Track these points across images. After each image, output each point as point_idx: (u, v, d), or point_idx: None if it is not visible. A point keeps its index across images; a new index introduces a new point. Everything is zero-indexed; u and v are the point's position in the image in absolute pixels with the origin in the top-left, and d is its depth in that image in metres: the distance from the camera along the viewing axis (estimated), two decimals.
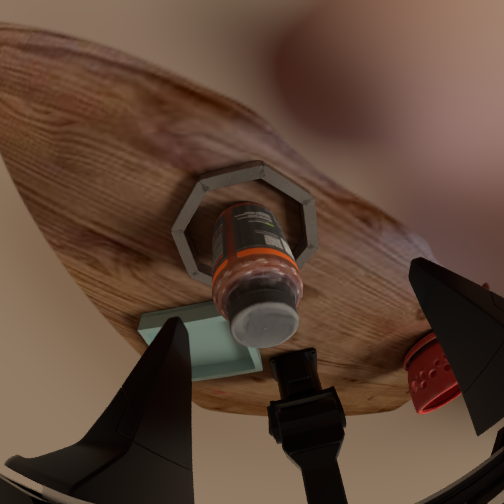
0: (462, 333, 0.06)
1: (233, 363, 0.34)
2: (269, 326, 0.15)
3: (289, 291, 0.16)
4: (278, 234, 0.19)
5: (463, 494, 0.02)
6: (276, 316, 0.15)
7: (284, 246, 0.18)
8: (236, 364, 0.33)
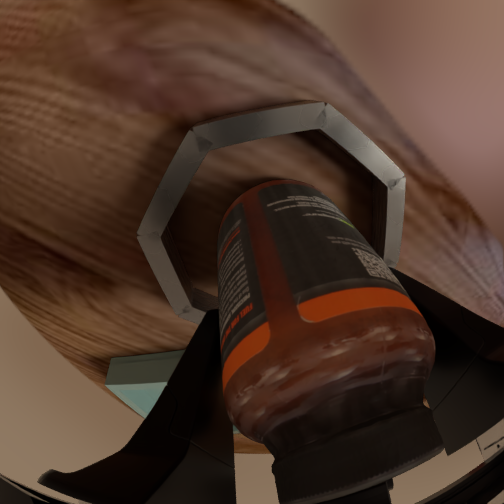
0: None
1: None
2: None
3: (423, 392, 0.05)
4: (369, 245, 0.08)
5: (463, 494, 0.02)
6: None
7: (393, 275, 0.07)
8: None
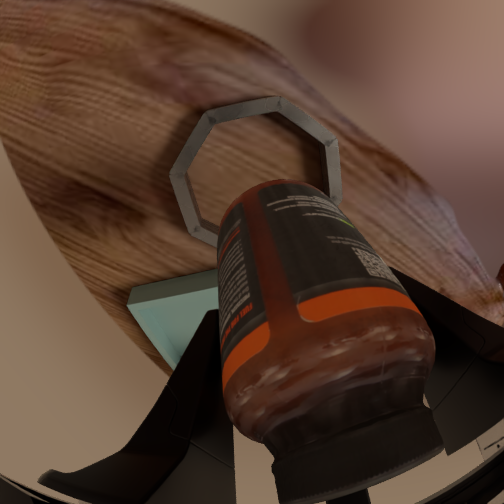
0: None
1: None
2: None
3: (423, 392, 0.05)
4: (369, 245, 0.08)
5: (463, 494, 0.02)
6: None
7: (393, 275, 0.07)
8: None
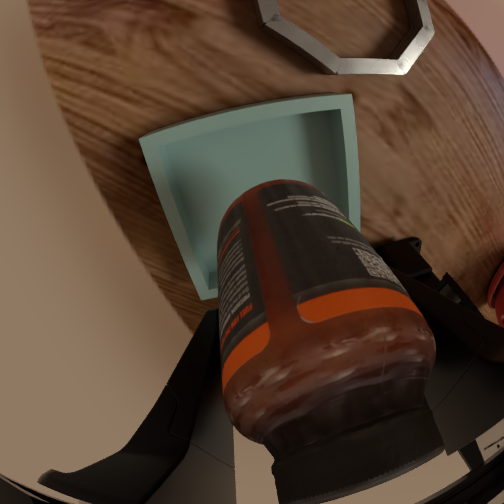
0: None
1: None
2: None
3: None
4: (370, 245, 0.08)
5: (463, 494, 0.02)
6: None
7: (394, 275, 0.07)
8: None
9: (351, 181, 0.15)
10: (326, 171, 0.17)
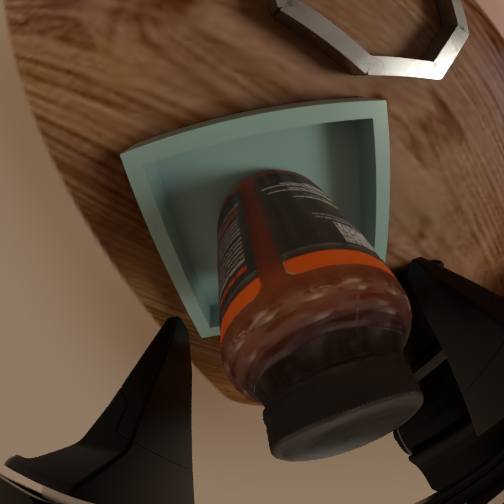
0: (462, 333, 0.06)
1: None
2: (363, 434, 0.05)
3: (401, 348, 0.06)
4: (351, 223, 0.09)
5: (463, 494, 0.02)
6: (387, 418, 0.05)
7: (371, 247, 0.08)
8: None
9: (380, 206, 0.12)
10: (349, 191, 0.14)
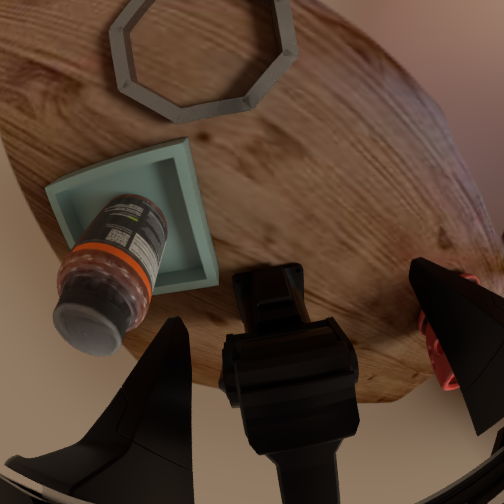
0: (462, 333, 0.06)
1: (175, 274, 0.23)
2: (88, 332, 0.11)
3: (116, 295, 0.12)
4: (135, 229, 0.15)
5: (463, 494, 0.02)
6: (88, 321, 0.11)
7: (132, 243, 0.14)
8: (179, 274, 0.23)
9: (192, 217, 0.19)
10: (183, 206, 0.20)
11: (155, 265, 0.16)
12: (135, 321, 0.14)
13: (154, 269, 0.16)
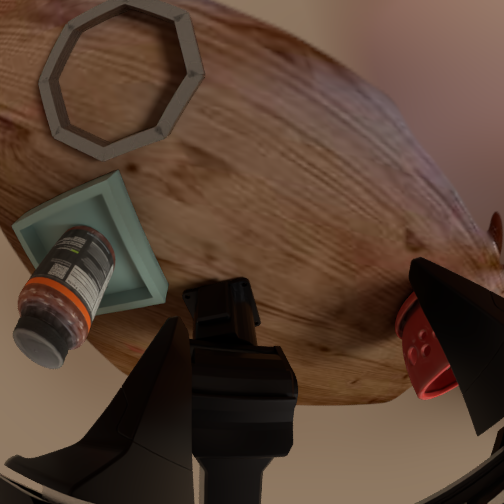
0: (462, 333, 0.06)
1: (129, 293, 0.24)
2: (37, 350, 0.12)
3: (55, 320, 0.13)
4: (75, 261, 0.16)
5: (463, 494, 0.02)
6: (35, 342, 0.12)
7: (69, 275, 0.15)
8: (132, 293, 0.23)
9: (127, 244, 0.19)
10: None
11: (94, 291, 0.17)
12: (77, 340, 0.15)
13: (92, 295, 0.17)
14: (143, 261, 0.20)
